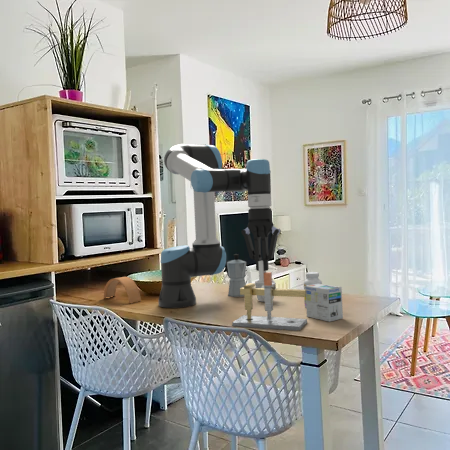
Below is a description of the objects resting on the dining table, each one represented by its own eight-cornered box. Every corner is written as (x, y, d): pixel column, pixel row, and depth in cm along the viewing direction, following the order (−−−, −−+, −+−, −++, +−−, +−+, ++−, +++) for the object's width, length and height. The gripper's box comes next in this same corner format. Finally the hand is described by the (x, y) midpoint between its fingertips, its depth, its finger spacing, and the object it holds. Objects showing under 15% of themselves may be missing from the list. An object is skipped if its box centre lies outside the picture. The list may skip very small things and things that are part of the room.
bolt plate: (232, 326, 148) (232, 322, 148) (243, 318, 157) (243, 315, 157) (299, 330, 139) (299, 326, 139) (307, 322, 148) (306, 318, 148)
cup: (273, 304, 178) (273, 283, 178) (253, 304, 180) (252, 284, 179) (276, 298, 189) (275, 279, 188) (257, 298, 190) (256, 279, 190)
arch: (129, 304, 191) (128, 280, 191) (103, 299, 205) (102, 276, 205) (141, 301, 195) (139, 278, 195) (114, 296, 209) (113, 275, 209)
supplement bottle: (326, 306, 170) (325, 272, 170) (316, 309, 166) (315, 274, 165) (311, 304, 175) (310, 271, 175) (301, 307, 170) (299, 273, 170)
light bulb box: (343, 318, 151) (342, 286, 151) (329, 322, 147) (328, 289, 147) (319, 313, 160) (318, 282, 160) (305, 316, 156) (304, 285, 156)
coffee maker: (254, 295, 197) (253, 254, 197) (238, 298, 192) (236, 255, 192) (234, 291, 210) (232, 252, 209) (218, 294, 205) (216, 253, 204)
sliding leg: (265, 320, 147) (263, 273, 147) (271, 316, 153) (269, 270, 152) (271, 320, 147) (269, 273, 146) (276, 316, 152) (275, 270, 151)
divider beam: (238, 319, 151) (236, 285, 151) (243, 315, 156) (242, 282, 155) (303, 323, 142) (302, 287, 142) (307, 319, 147) (306, 284, 146)
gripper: (236, 208, 146) (239, 282, 147) (275, 207, 141) (278, 283, 142) (245, 208, 153) (248, 278, 154) (282, 206, 148) (285, 279, 149)
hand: (262, 280), depth 148 cm, fingers closed
